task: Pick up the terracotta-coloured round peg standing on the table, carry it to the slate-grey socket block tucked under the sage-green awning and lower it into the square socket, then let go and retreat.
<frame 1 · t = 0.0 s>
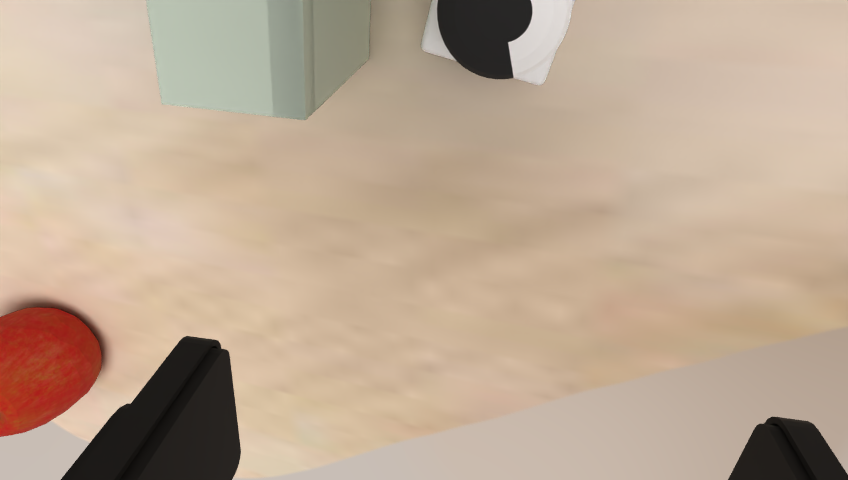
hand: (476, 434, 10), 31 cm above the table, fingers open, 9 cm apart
apple: (64, 336, 54), on the table
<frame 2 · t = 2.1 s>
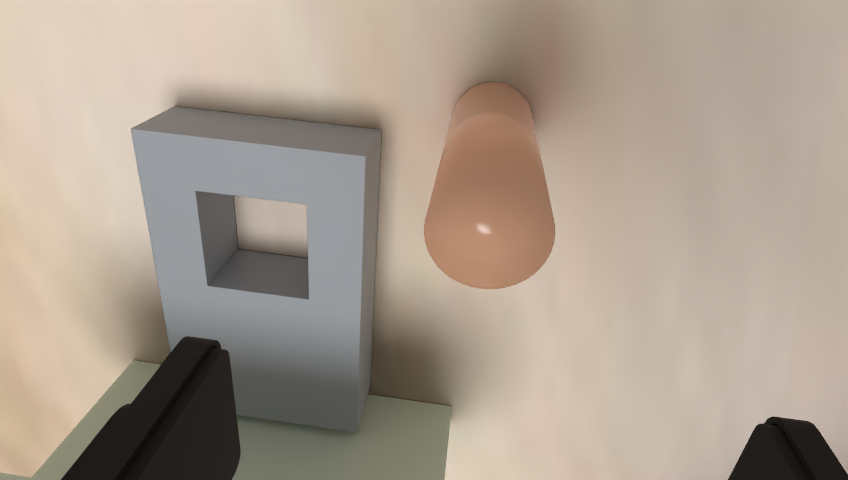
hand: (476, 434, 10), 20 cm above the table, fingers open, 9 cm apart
peg: (491, 122, 28), on the table
shelter: (288, 356, 36), resting in socket
socket: (281, 213, 31), on the table
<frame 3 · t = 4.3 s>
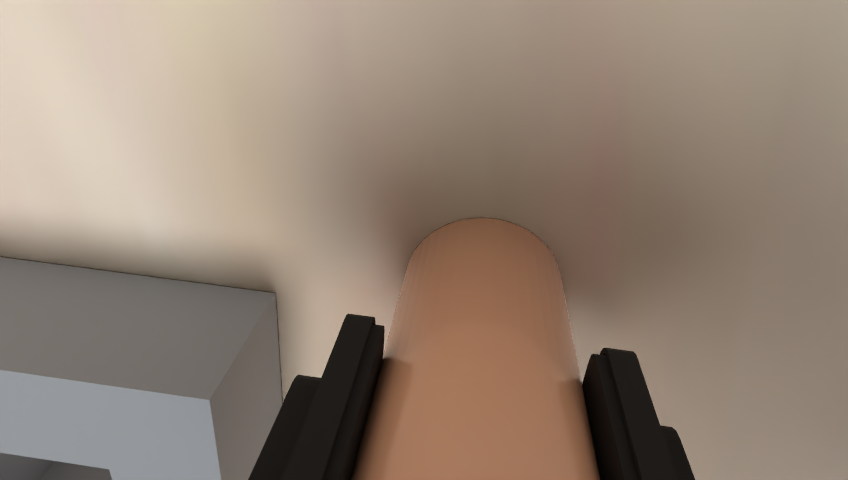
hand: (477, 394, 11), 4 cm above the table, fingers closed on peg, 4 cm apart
peg: (481, 287, 14), on the table, touching gripper
socket: (119, 411, 18), on the table
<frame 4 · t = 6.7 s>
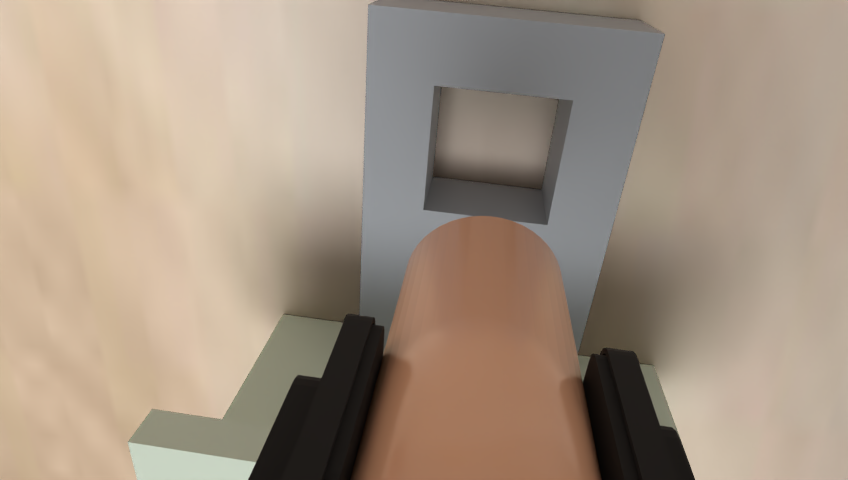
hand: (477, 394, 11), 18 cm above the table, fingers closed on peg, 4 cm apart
peg: (482, 286, 14), point 14 cm above the table, touching gripper
shelter: (468, 308, 32), resting in socket
socket: (494, 130, 27), on the table
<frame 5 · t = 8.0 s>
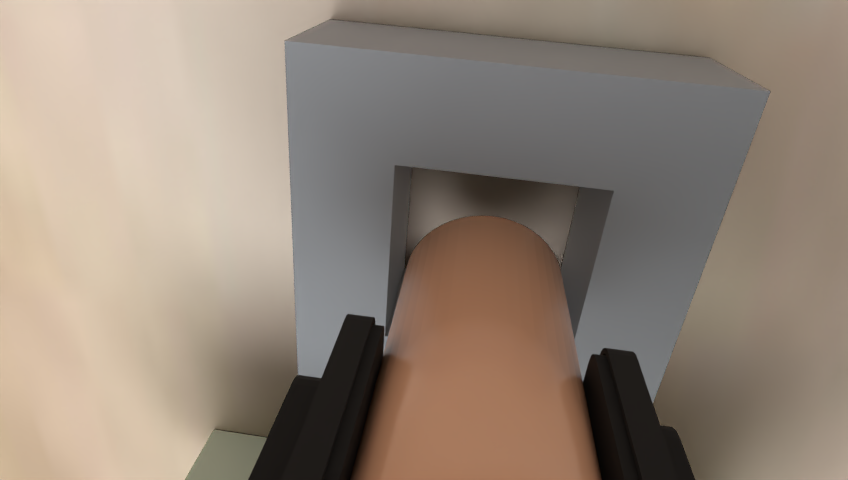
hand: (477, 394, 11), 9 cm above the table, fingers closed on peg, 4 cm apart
peg: (482, 285, 14), point 5 cm above the table, touching gripper
shelter: (456, 430, 24), resting in socket
socket: (490, 209, 19), on the table
when the fingers open (5 cm above the table, at t = 9.0 s): peg drops 1 cm, resting in socket.
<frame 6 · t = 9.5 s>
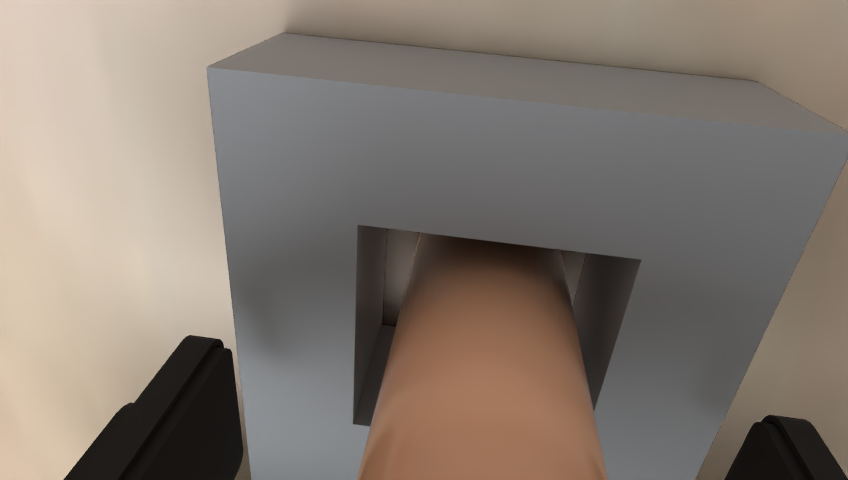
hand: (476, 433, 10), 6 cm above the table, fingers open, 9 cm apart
peg: (487, 258, 16), resting in socket
socket: (482, 259, 16), on the table
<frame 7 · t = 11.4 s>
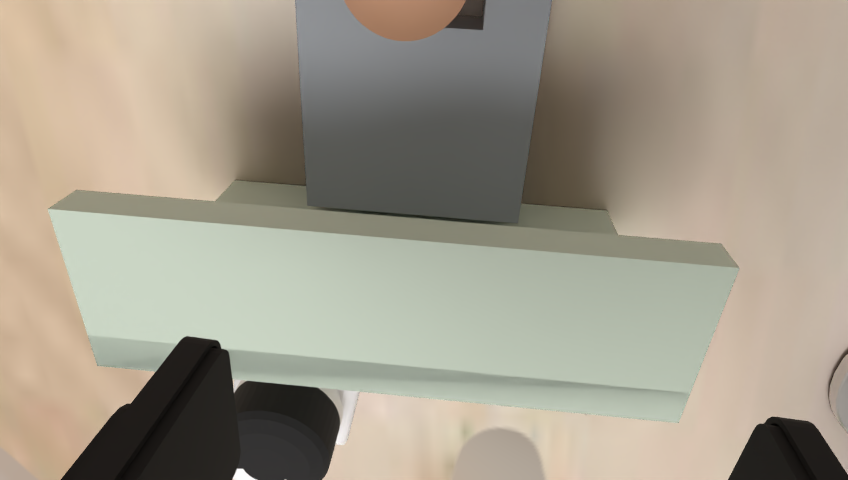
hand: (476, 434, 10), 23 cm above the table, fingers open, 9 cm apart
shelter: (419, 159, 32), resting in socket
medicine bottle: (324, 315, 38), on the table
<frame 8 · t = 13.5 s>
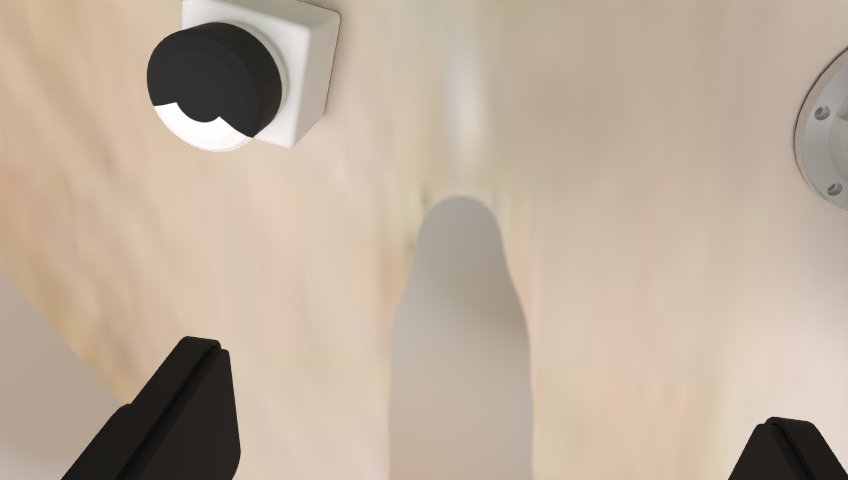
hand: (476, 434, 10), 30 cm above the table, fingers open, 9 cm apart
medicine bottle: (282, 52, 38), on the table
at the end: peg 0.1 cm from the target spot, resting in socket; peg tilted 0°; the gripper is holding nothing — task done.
